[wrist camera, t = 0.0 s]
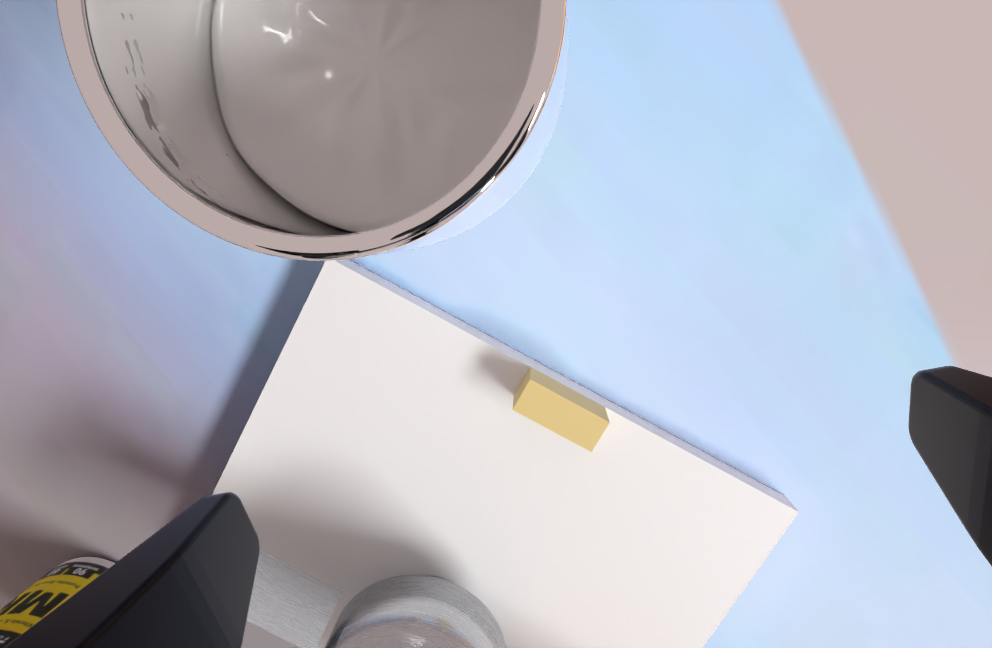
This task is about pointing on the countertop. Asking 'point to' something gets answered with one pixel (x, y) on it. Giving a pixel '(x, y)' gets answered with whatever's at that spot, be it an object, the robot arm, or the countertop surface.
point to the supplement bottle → (48, 595)
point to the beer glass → (324, 112)
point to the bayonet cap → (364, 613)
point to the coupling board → (488, 480)
